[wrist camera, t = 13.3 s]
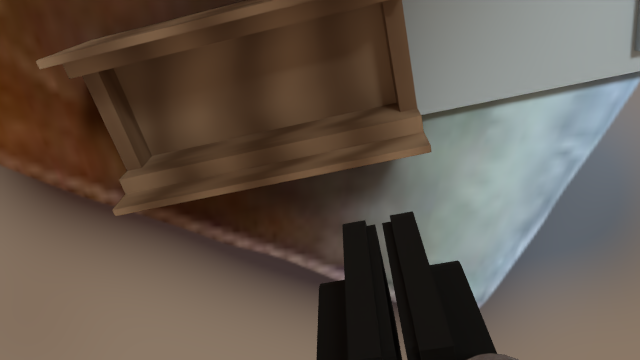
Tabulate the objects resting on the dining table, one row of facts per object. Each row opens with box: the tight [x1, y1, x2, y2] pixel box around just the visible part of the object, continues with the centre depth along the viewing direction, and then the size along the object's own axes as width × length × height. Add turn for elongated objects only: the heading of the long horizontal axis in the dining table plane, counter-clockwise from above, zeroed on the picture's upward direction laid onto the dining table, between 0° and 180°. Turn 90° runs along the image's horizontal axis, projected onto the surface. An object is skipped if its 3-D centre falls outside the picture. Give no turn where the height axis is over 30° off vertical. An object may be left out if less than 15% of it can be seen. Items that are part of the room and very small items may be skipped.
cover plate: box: [402, 0, 640, 115], centre depth 31 cm, size 18×9×2 cm, turn 102°
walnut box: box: [36, 0, 431, 216], centre depth 31 cm, size 22×11×7 cm, turn 103°
